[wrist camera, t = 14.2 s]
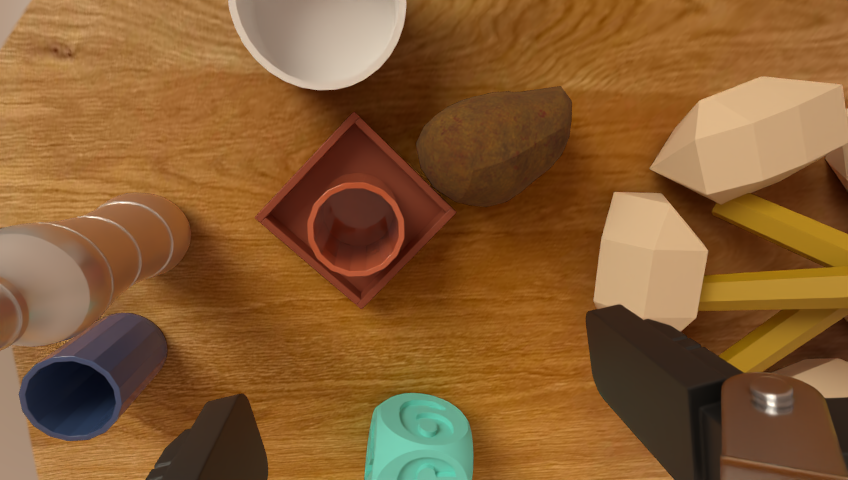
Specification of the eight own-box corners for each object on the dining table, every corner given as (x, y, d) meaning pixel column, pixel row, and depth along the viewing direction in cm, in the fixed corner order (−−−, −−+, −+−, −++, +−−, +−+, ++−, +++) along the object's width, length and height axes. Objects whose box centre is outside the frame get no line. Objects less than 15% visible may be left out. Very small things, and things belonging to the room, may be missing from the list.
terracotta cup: (302, 212, 39) (287, 232, 31) (356, 155, 39) (353, 162, 31) (360, 263, 41) (359, 294, 33) (413, 209, 40) (424, 228, 32)
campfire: (960, 107, 44) (1311, 93, 28) (859, 431, 52) (1090, 573, 35) (606, 67, 40) (775, 23, 23) (549, 430, 47) (648, 592, 30)
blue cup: (70, 351, 40) (-2, 404, 32) (119, 297, 39) (59, 338, 32) (135, 396, 41) (81, 457, 34) (183, 345, 41) (140, 394, 33)
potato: (555, 187, 42) (603, 202, 33) (420, 208, 41) (434, 228, 32) (548, 87, 40) (597, 75, 31) (406, 106, 39) (417, 99, 30)
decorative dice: (363, 463, 46) (363, 531, 38) (376, 387, 44) (378, 442, 36) (445, 469, 47) (460, 537, 39) (460, 396, 45) (480, 451, 37)
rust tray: (261, 212, 39) (254, 217, 37) (354, 112, 38) (353, 111, 36) (361, 299, 42) (361, 309, 39) (451, 207, 41) (456, 212, 39)
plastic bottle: (114, 180, 37) (-156, 233, 18) (204, 198, 38) (40, 265, 19) (107, 259, 39) (-153, 387, 19) (195, 273, 40) (31, 409, 20)
